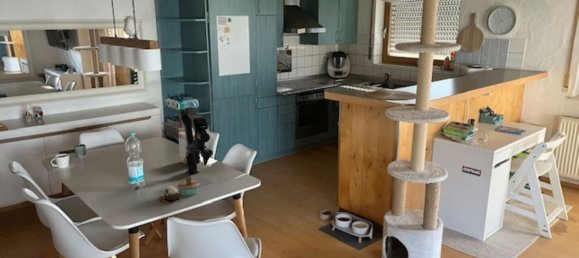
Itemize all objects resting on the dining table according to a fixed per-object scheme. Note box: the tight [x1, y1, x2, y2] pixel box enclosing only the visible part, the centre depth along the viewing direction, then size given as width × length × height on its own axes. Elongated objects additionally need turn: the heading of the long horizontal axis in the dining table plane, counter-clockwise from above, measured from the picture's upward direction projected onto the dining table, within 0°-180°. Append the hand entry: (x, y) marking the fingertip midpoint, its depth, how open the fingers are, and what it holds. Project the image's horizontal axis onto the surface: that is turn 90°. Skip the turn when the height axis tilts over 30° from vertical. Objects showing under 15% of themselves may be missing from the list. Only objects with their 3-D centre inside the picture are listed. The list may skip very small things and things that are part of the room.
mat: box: [194, 176, 215, 188], centre depth 260 cm, size 12×12×1 cm
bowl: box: [178, 187, 200, 196], centre depth 246 cm, size 11×11×4 cm
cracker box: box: [178, 131, 195, 165], centre depth 290 cm, size 14×6×21 cm, turn 41°
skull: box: [159, 185, 180, 204], centre depth 237 cm, size 12×10×10 cm
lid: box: [177, 176, 200, 190], centre depth 245 cm, size 12×12×5 cm
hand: (200, 163), depth 258 cm, fingers open, 9 cm apart
